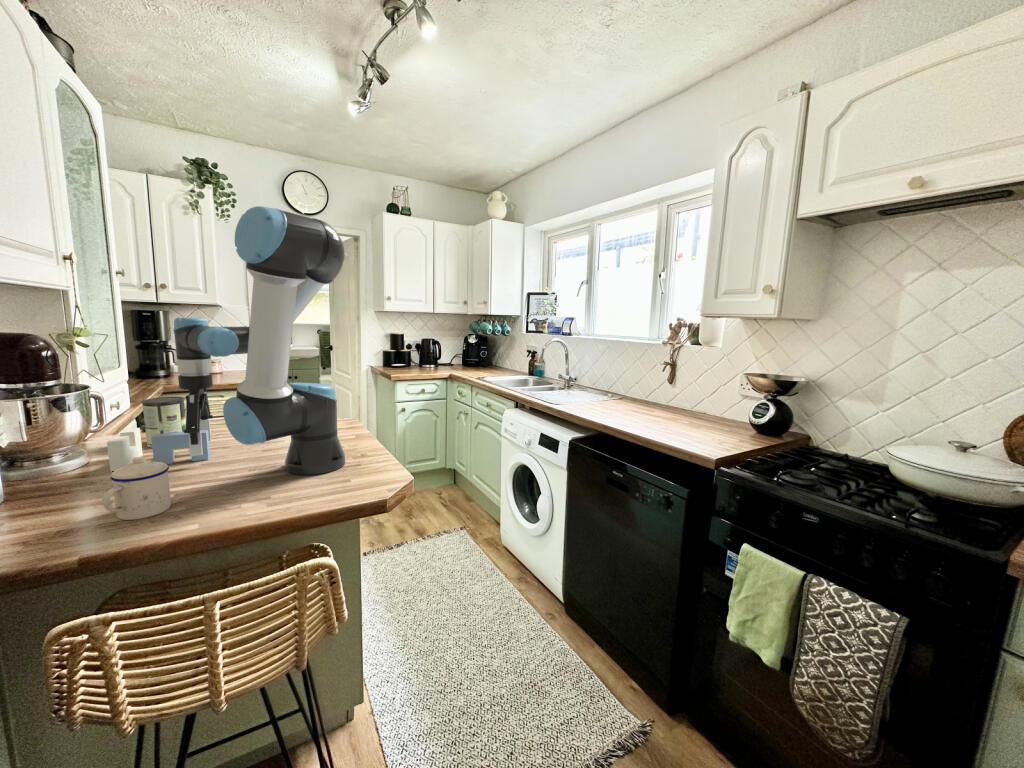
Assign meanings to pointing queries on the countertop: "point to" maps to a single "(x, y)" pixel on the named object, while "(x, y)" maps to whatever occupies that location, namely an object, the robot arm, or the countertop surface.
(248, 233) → the robot arm
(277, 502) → the countertop surface
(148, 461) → the teacup with lid
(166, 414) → the coffee can
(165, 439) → the light blue flat block
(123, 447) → the white notched slab
